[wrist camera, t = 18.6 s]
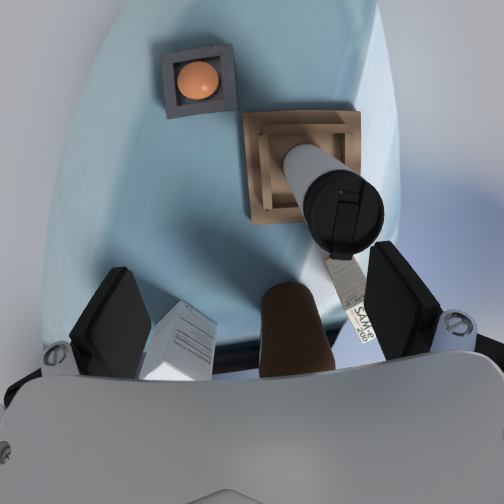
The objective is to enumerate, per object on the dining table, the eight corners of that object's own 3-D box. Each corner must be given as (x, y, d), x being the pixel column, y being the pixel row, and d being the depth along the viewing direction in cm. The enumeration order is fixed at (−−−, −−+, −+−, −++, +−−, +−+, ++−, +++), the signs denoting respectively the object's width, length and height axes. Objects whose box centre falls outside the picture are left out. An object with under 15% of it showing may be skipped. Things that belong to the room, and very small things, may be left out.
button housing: (168, 59, 32) (160, 55, 28) (233, 49, 31) (231, 43, 28) (173, 118, 36) (166, 119, 33) (238, 109, 35) (237, 109, 32)
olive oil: (305, 269, 47) (339, 399, 25) (324, 313, 52) (355, 432, 30) (247, 292, 49) (244, 424, 27) (271, 332, 54) (279, 452, 32)
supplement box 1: (191, 347, 56) (180, 407, 43) (155, 323, 53) (134, 383, 40) (219, 324, 53) (211, 389, 40) (181, 298, 50) (161, 361, 37)
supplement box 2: (322, 259, 46) (342, 310, 35) (347, 245, 45) (375, 293, 34) (341, 293, 50) (361, 345, 38) (364, 280, 48) (391, 330, 37)
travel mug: (279, 187, 39) (302, 259, 22) (284, 140, 36) (316, 173, 18) (323, 191, 39) (376, 264, 22) (330, 146, 36) (396, 186, 19)
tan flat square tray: (242, 113, 36) (241, 113, 33) (356, 111, 35) (365, 112, 32) (251, 221, 43) (251, 230, 40) (355, 215, 43) (362, 224, 40)
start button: (180, 67, 31) (175, 65, 29) (218, 62, 31) (216, 58, 29) (184, 102, 34) (179, 101, 31) (221, 96, 33) (219, 96, 31)
